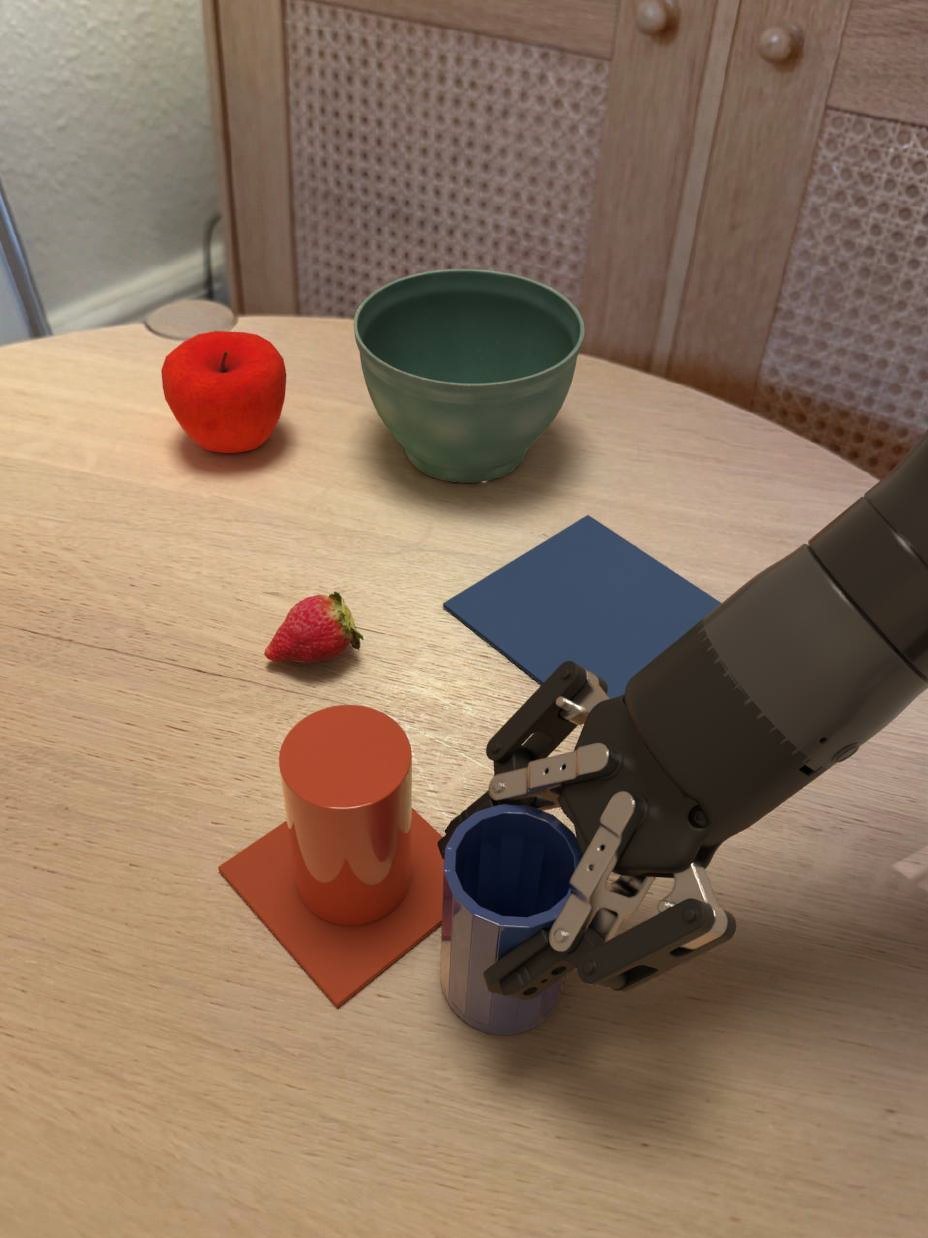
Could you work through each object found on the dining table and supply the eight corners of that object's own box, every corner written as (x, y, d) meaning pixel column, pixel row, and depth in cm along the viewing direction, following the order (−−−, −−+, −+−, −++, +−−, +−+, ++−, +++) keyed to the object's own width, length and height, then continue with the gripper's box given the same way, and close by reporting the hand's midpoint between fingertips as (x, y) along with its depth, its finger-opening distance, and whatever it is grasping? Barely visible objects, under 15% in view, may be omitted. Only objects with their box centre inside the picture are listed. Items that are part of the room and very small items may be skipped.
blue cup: (588, 980, 53) (615, 868, 46) (500, 1062, 50) (514, 955, 43) (502, 898, 56) (515, 781, 49) (415, 971, 53) (415, 857, 46)
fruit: (263, 637, 68) (254, 579, 65) (357, 626, 69) (354, 568, 66) (267, 687, 65) (259, 629, 62) (366, 675, 66) (363, 617, 63)
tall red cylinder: (435, 878, 56) (439, 759, 49) (344, 949, 53) (333, 833, 46) (362, 806, 59) (355, 684, 52) (272, 869, 56) (252, 749, 49)
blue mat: (744, 623, 71) (746, 618, 70) (601, 733, 64) (602, 728, 63) (587, 518, 78) (588, 514, 77) (442, 607, 71) (442, 603, 71)
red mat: (489, 885, 56) (490, 881, 56) (337, 1008, 51) (337, 1004, 51) (367, 769, 61) (367, 764, 61) (218, 871, 56) (217, 867, 56)
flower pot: (316, 437, 84) (307, 310, 76) (473, 368, 91) (479, 246, 84) (452, 544, 75) (456, 413, 68) (612, 458, 83) (632, 331, 75)
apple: (196, 489, 79) (180, 398, 73) (158, 426, 84) (140, 336, 78) (310, 456, 82) (303, 366, 76) (266, 398, 87) (256, 309, 82)
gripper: (645, 530, 45) (372, 771, 50) (830, 808, 35) (468, 1067, 41) (732, 599, 50) (476, 810, 55) (915, 858, 40) (583, 1083, 46)
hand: (474, 918), depth 48 cm, fingers closed on blue cup, 6 cm apart
